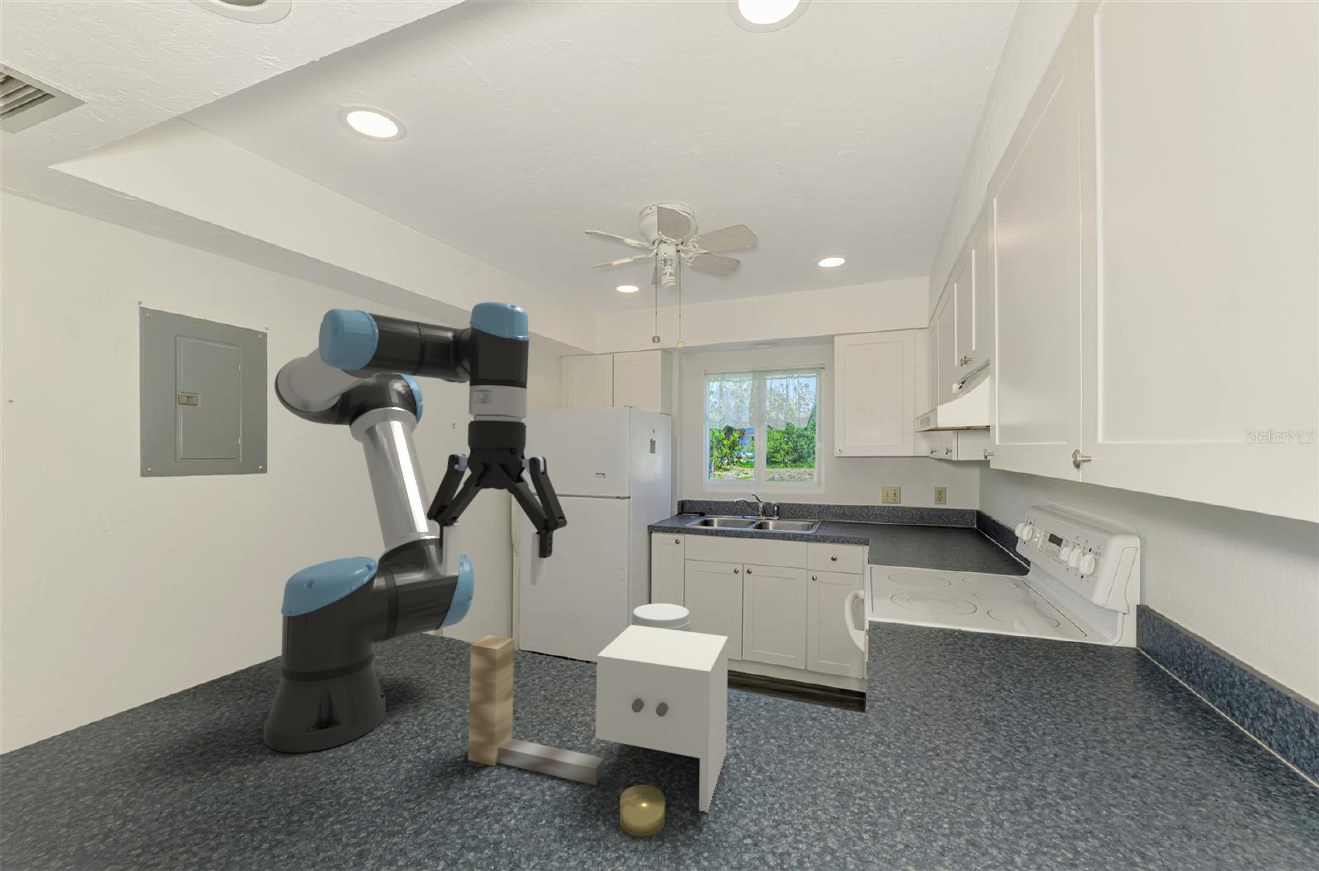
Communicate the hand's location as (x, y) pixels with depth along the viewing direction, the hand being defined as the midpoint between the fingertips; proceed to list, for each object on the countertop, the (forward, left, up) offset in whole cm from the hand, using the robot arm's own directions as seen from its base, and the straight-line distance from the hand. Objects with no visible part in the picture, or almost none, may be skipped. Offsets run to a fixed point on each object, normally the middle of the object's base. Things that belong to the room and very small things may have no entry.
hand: (493, 577), depth 73 cm
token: (+24, -6, -24) cm, 34 cm away
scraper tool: (+7, 0, -24) cm, 25 cm away
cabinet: (+23, +4, -24) cm, 33 cm away
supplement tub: (+17, +22, -24) cm, 37 cm away
